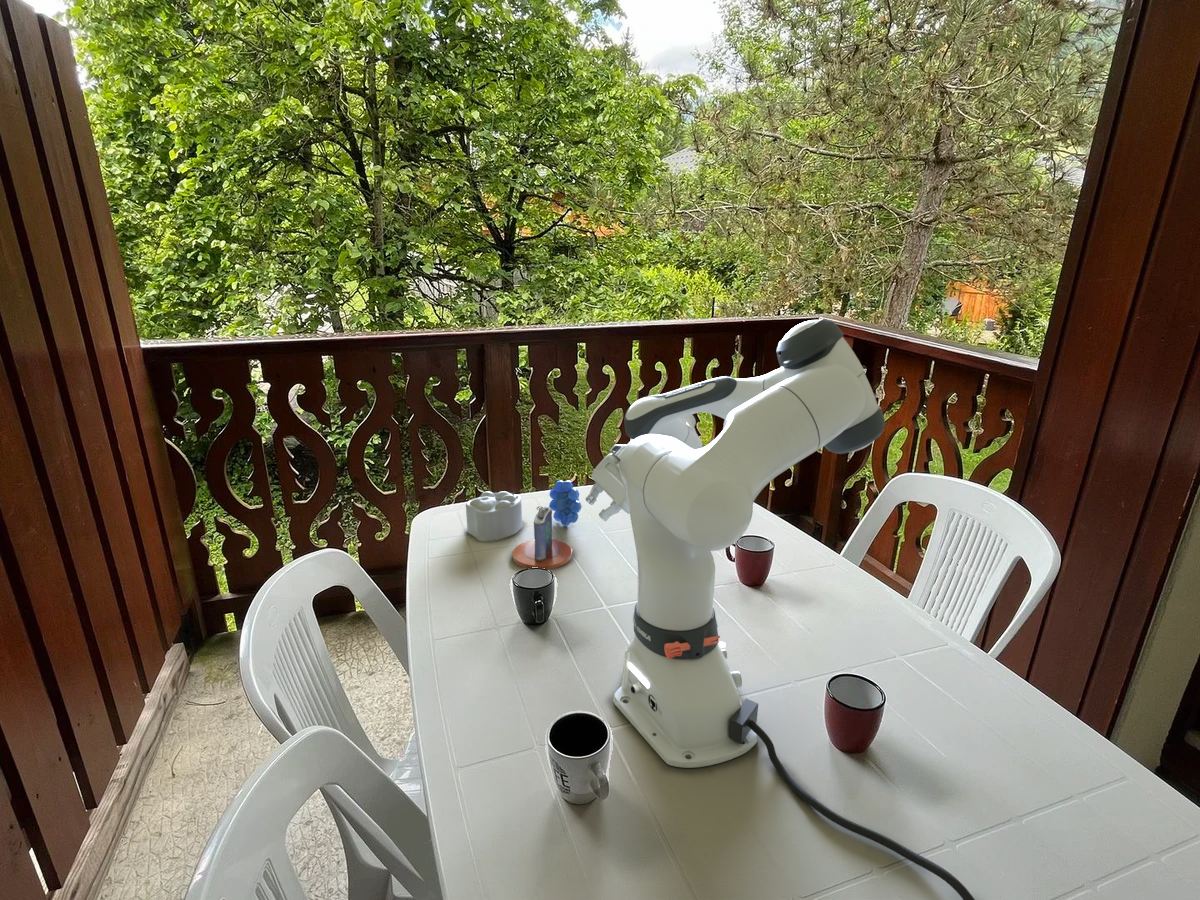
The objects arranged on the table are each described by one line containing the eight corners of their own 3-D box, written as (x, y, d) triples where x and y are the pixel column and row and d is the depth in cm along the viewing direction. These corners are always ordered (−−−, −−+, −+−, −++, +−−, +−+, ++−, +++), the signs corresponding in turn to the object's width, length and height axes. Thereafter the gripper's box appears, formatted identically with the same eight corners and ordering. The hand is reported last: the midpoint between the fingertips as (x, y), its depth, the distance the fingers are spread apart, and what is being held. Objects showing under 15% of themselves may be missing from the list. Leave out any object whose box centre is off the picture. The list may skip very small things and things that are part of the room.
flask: (544, 562, 135) (543, 515, 132) (531, 561, 135) (529, 515, 132) (554, 543, 144) (552, 499, 141) (541, 542, 144) (539, 498, 141)
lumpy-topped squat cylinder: (462, 529, 153) (460, 496, 151) (508, 515, 161) (507, 483, 159) (484, 544, 146) (482, 509, 143) (531, 528, 154) (530, 495, 151)
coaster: (579, 564, 136) (579, 560, 136) (519, 574, 132) (519, 569, 132) (562, 539, 148) (562, 535, 148) (507, 547, 144) (507, 543, 144)
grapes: (594, 528, 154) (593, 482, 150) (571, 536, 150) (571, 488, 146) (565, 513, 162) (564, 469, 159) (543, 520, 158) (542, 475, 155)
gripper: (664, 488, 133) (620, 537, 133) (628, 458, 152) (590, 501, 152) (645, 470, 131) (600, 520, 131) (611, 442, 149) (572, 486, 149)
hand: (594, 510), depth 141 cm, fingers open, 8 cm apart
